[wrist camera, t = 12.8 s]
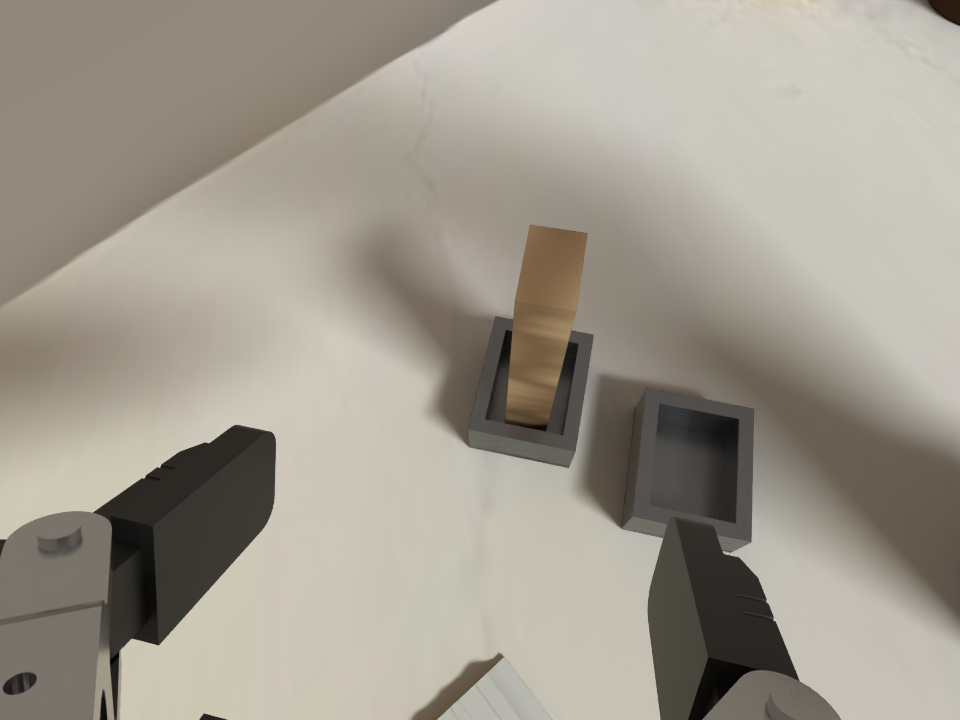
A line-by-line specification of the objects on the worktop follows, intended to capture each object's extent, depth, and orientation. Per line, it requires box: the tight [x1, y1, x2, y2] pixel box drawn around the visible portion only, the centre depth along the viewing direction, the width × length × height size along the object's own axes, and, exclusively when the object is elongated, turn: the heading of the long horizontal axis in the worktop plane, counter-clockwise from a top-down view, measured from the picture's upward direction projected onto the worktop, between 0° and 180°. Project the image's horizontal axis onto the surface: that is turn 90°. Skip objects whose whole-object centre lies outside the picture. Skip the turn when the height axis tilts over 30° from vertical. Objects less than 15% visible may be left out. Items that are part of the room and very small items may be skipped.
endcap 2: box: [621, 388, 754, 553], centre depth 35 cm, size 6×8×3 cm
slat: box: [505, 225, 587, 432], centre depth 32 cm, size 2×4×14 cm, turn 169°
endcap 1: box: [468, 317, 594, 468], centre depth 37 cm, size 6×8×3 cm
